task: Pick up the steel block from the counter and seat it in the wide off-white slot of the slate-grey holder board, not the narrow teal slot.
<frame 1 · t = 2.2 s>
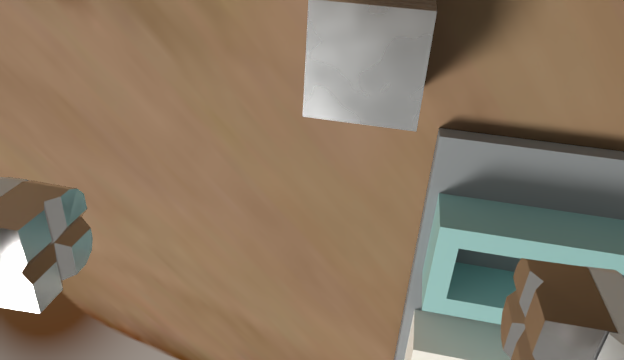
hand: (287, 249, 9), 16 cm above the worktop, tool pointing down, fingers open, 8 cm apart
holder: (543, 309, 28), on the worktop
steel block: (376, 36, 23), on the worktop
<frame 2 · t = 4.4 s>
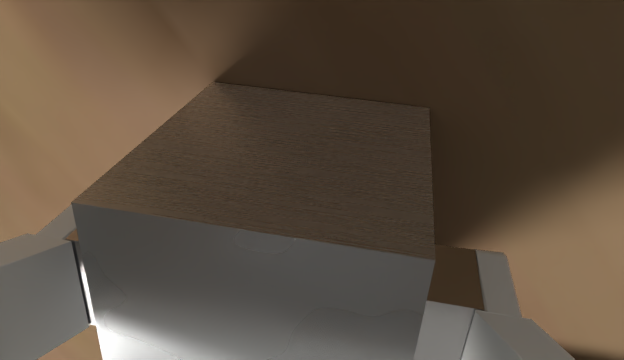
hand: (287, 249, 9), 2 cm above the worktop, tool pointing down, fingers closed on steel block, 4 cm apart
steel block: (311, 189, 11), on the worktop, touching gripper
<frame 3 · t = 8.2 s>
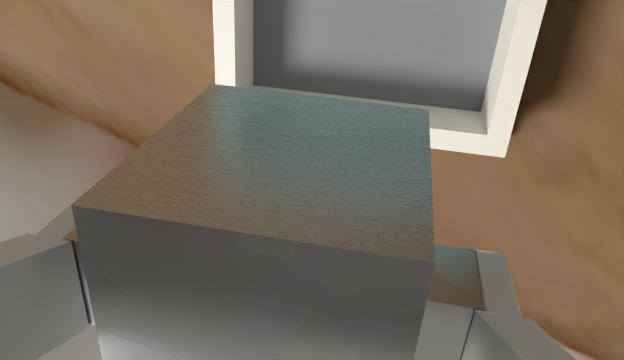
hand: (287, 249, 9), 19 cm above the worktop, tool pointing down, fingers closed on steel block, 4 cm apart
steel block: (311, 191, 11), point 17 cm above the worktop, touching gripper
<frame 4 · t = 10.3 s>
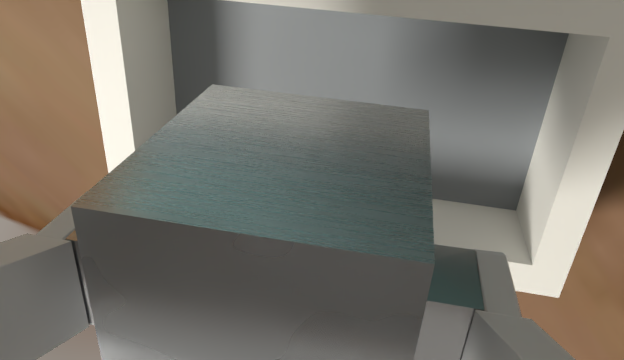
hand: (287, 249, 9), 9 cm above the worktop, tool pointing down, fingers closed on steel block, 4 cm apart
steel block: (311, 191, 11), point 7 cm above the worktop, touching gripper
when the fingers open (4 cm above the worktop, at t = 12.1 s): steel block stays where it is, resting on holder.
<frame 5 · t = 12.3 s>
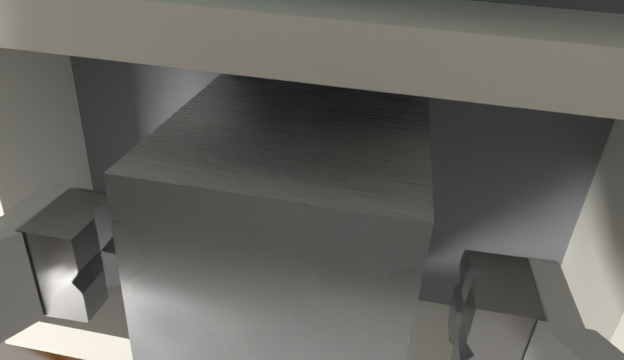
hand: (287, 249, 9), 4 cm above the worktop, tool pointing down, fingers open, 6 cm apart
steel block: (317, 173, 12), point 1 cm above the worktop, touching holder
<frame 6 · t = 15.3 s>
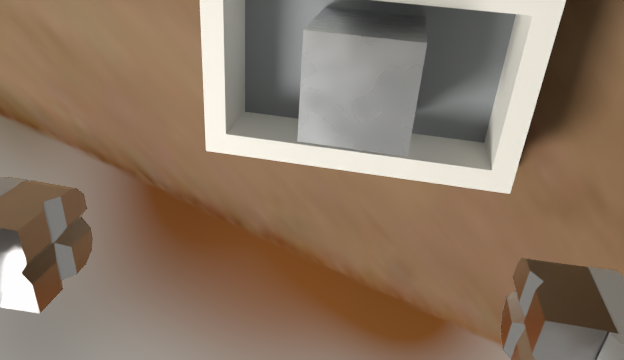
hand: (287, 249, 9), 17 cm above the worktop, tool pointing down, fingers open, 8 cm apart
steel block: (368, 61, 24), point 1 cm above the worktop, touching holder
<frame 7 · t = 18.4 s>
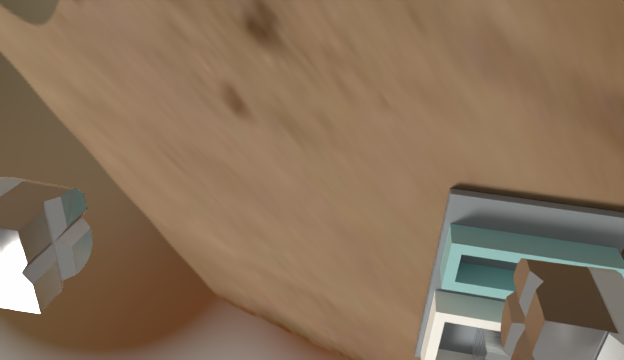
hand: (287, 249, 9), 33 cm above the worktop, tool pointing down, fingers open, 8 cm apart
holder: (510, 289, 49), on the worktop
steel block: (499, 334, 50), point 1 cm above the worktop, touching holder
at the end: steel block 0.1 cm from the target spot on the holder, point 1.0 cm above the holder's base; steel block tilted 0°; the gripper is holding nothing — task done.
